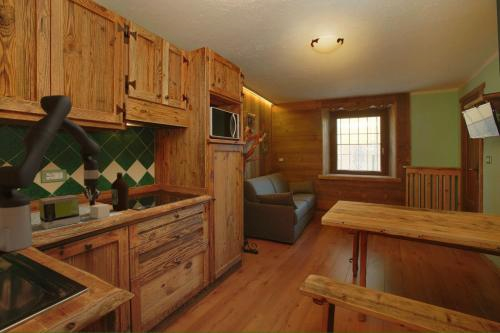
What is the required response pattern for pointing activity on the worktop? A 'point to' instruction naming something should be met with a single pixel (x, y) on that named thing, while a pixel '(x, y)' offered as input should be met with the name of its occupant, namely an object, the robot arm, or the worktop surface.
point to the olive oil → (120, 193)
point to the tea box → (59, 211)
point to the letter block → (99, 211)
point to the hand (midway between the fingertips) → (92, 206)
